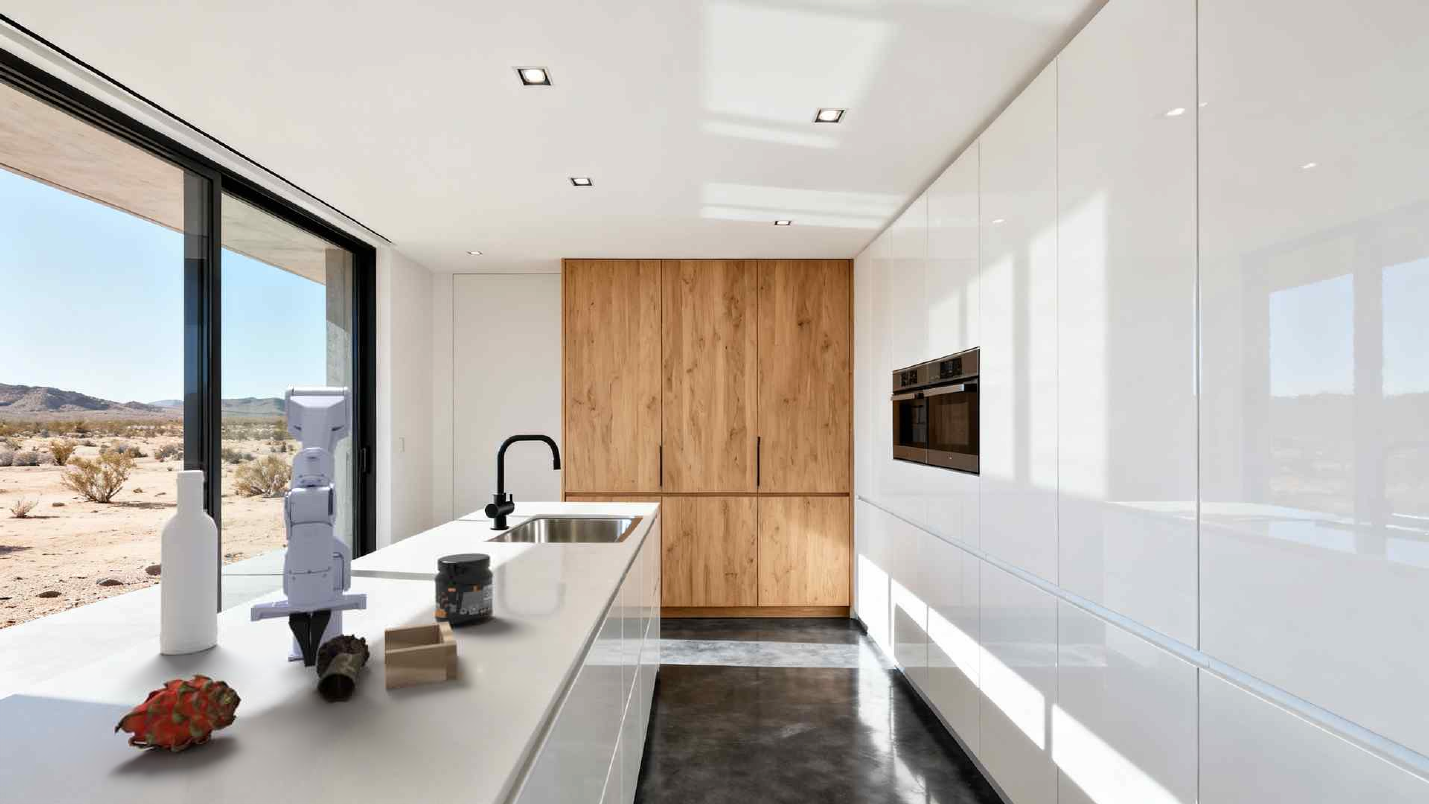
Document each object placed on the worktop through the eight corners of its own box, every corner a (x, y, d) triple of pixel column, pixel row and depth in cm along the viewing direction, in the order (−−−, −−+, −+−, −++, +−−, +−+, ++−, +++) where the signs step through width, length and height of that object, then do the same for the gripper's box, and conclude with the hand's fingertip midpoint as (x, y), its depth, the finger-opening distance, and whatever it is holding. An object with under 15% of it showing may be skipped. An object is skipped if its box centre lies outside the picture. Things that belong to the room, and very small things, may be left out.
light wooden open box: (384, 660, 115) (384, 628, 115) (448, 652, 119) (448, 621, 119) (385, 689, 102) (385, 653, 103) (456, 678, 106) (456, 644, 107)
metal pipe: (356, 702, 99) (356, 660, 99) (300, 709, 96) (299, 667, 97) (372, 661, 115) (372, 625, 115) (325, 667, 113) (324, 630, 113)
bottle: (206, 638, 129) (207, 469, 130) (225, 645, 124) (226, 470, 125) (152, 650, 122) (153, 471, 123) (170, 658, 118) (171, 473, 119)
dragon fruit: (249, 748, 88) (124, 789, 82) (245, 690, 94) (128, 724, 88) (237, 707, 83) (103, 747, 77) (233, 648, 89) (109, 681, 83)
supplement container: (432, 617, 141) (432, 555, 141) (489, 611, 145) (488, 550, 146) (436, 631, 131) (436, 564, 132) (497, 624, 136) (496, 559, 136)
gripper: (247, 580, 98) (246, 681, 98) (365, 569, 105) (365, 665, 104) (255, 570, 105) (254, 666, 104) (366, 561, 111) (366, 651, 111)
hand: (310, 664), depth 105 cm, fingers closed
